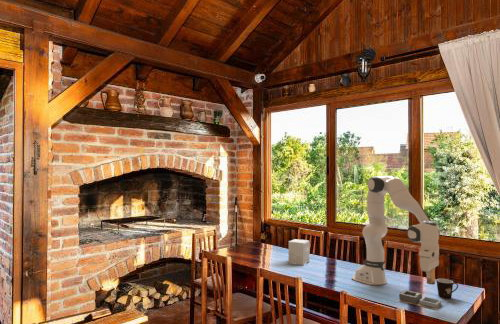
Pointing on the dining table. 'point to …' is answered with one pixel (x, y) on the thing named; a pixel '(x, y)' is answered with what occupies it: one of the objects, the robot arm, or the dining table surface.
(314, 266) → the dining table surface
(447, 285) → the coffee mug
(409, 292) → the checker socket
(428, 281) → the cell
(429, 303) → the tray
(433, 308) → the bench board
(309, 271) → the dining table surface
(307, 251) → the supplement box
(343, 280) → the dining table surface
